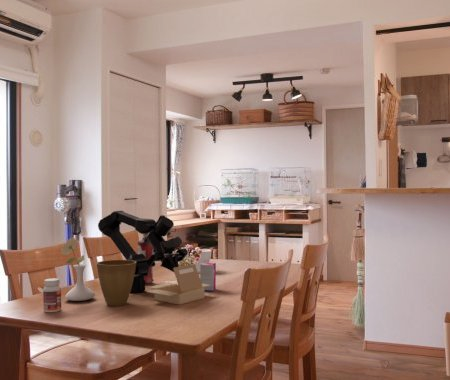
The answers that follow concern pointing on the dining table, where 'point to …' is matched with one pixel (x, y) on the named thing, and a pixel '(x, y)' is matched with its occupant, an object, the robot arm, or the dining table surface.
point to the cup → (203, 258)
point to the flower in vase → (79, 290)
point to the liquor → (147, 251)
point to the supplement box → (208, 275)
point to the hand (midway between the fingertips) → (179, 273)
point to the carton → (176, 293)
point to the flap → (187, 277)
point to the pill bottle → (52, 295)
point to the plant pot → (116, 280)
